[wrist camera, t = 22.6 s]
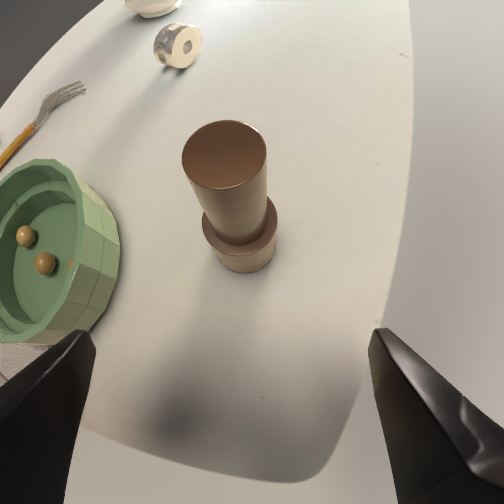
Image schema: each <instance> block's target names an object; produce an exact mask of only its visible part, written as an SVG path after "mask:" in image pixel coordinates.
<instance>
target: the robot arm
mask: <svg viewBox="0 0 504 504" xmlns="http://www.w3.org/2000/svg"><path fill="white" fill-rule="evenodd" d="M95 356H96V348H95V345H94V343H93V342H92V340H91V338H90V336H89V334H88V332H87V331H86V330H79V329H76V330H74V331H72V332H71V333H70V334H68V335H67V336H66V337H64V338H63V339H62V340H60V341H59V342H58V343H56V344H55V345H54V346H52V347H51V348H50V349H48V350H47V351H46V352H45V353H43V354H42V355H41V356H39V357H38V358H37V359H35V360H34V361H33V362H32V363H30V364H29V365H28V366H26V367H25V368H24V369H23V370H21V371H20V372H19V373H17V374H16V375H15V376H14V377H12V378H11V379H10V380H9V381H7V382H6V383H5V384H4V385H2V386H1V387H0V504H63V503H64V497H65V490H66V484H67V478H68V473H69V468H70V463H71V459H72V453H73V449H74V445H75V440H76V437H77V432H78V428H79V425H80V421H81V417H82V413H83V409H84V406H85V402H86V399H87V395H88V391H89V386H90V381H91V376H92V371H93V366H94V361H95ZM368 357H369V363H370V369H371V375H372V382H373V389H374V396H375V400H376V404H377V408H378V412H379V416H380V420H381V424H382V428H383V433H384V437H385V441H386V446H387V450H388V454H389V459H390V464H391V468H392V474H393V478H394V484H395V489H396V495H397V500H398V504H504V429H503V428H502V427H501V426H499V425H498V424H497V423H495V422H494V421H493V420H491V419H490V418H489V417H488V416H486V415H485V414H484V413H483V412H482V411H480V410H479V409H478V408H477V407H476V406H475V405H474V404H472V403H471V402H470V401H469V400H468V399H467V398H466V397H465V396H462V394H461V393H460V392H459V391H458V390H457V389H456V388H455V387H454V386H453V385H452V384H450V383H449V382H448V381H447V380H446V379H445V378H444V377H443V376H441V375H440V374H439V373H438V372H437V371H436V370H435V369H434V368H433V367H431V366H430V365H429V364H428V363H427V362H426V361H425V360H424V359H422V358H421V357H420V356H419V355H418V354H417V353H416V352H415V351H413V350H412V349H411V348H410V347H409V346H408V345H407V344H405V343H404V342H403V341H402V340H401V339H400V338H399V337H397V336H396V335H395V334H394V333H393V332H392V331H391V330H389V329H388V328H378V329H375V330H374V331H373V333H372V337H371V340H370V344H369V347H368Z"/></svg>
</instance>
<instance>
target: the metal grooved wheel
mask: <svg viewBox="0 0 504 504" xmlns="http://www.w3.org/2000/svg"><path fill="white" fill-rule="evenodd" d="M201 45H202V35H201V32H200V30H199V29H198V28H197V27H195V26H191V25H181V24H177V23H173V24H169V25H167V26H165V27H164V28H163V29H161V30H160V32H159V33H158V34H157V36H156V38H155V41H154V45H153V52H154V56H155V58H156V60H157V61H158V62H159V63H161V64H164V65H171V66H173V67H177V68H186V67H188V66H190V65H191V64H192V63H193V62H194V61H195V59H196V58H197V56H198V54H199V52H200V49H201Z"/></svg>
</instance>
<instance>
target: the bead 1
mask: <svg viewBox="0 0 504 504" xmlns="http://www.w3.org/2000/svg"><path fill="white" fill-rule="evenodd" d="M16 239H17V242H18V244H19V245H20V246H22V247H29V246H31V245H32V244H33V243H34V240H35V232H34V230H33V229H32V228H31V227H30V226H27V225H25V226H22V227H20V228H19V229H18V231H17V234H16Z"/></svg>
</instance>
